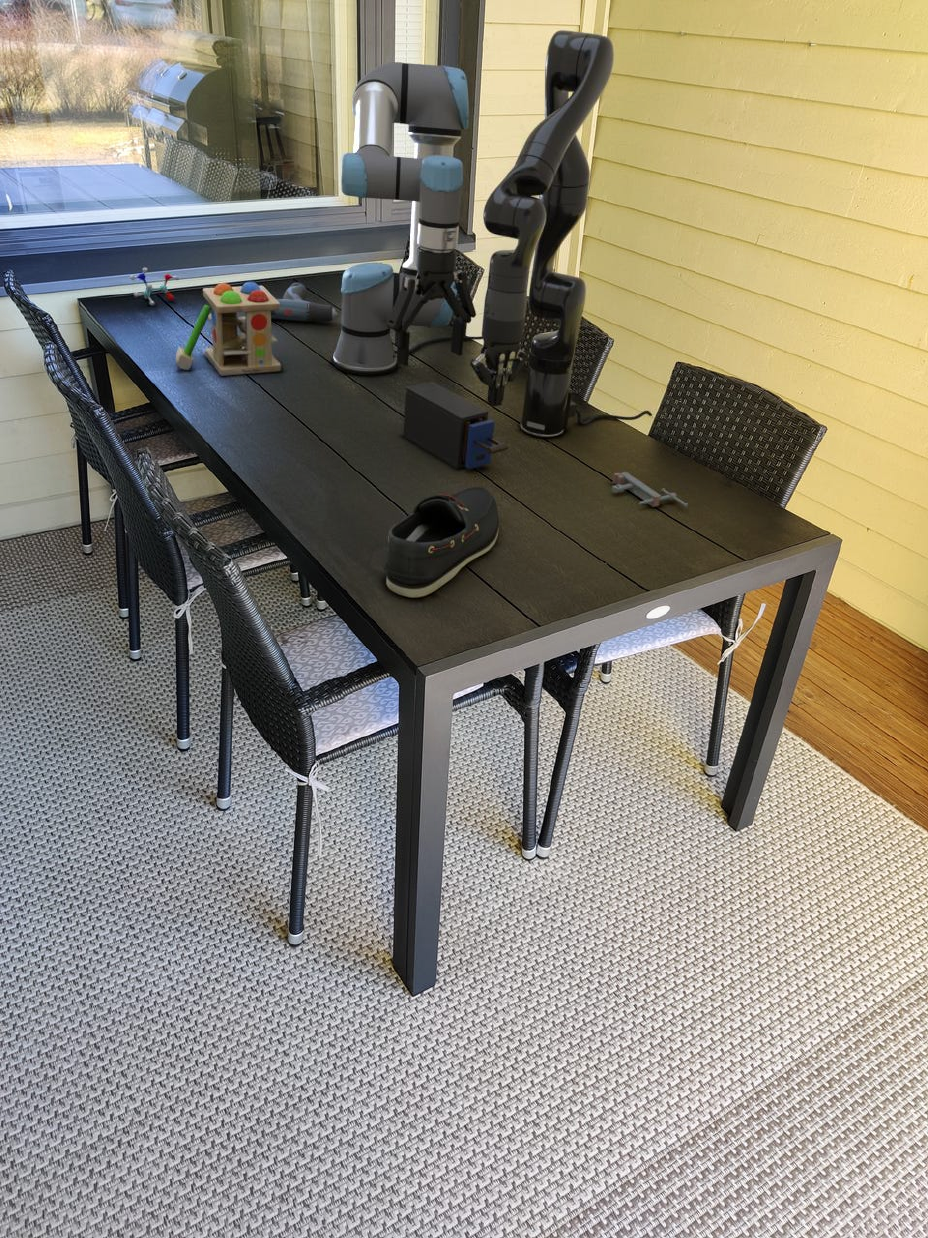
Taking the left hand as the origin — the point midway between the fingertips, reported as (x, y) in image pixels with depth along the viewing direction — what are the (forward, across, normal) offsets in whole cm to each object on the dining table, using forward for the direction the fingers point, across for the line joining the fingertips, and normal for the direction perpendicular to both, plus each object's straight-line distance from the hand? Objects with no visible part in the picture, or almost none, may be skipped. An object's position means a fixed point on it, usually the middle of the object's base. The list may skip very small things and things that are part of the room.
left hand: (429, 358), depth 195 cm
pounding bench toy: (+17, -16, +56) cm, 61 cm away
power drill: (+17, +22, +82) cm, 86 cm away
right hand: (+3, +1, -20) cm, 20 cm away
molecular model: (+17, -10, +108) cm, 109 cm away
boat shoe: (+18, -25, -39) cm, 49 cm away
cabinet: (+17, 0, -6) cm, 18 cm away
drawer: (+16, +1, -11) cm, 20 cm away
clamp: (+18, +21, -43) cm, 51 cm away
